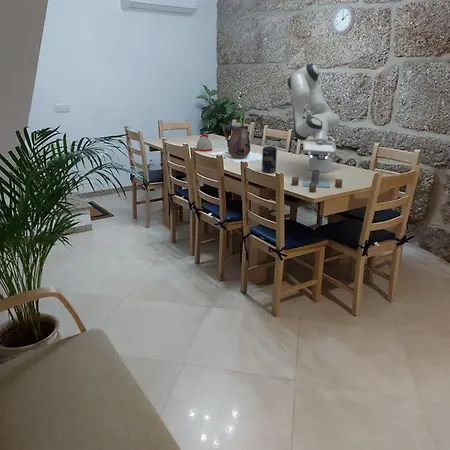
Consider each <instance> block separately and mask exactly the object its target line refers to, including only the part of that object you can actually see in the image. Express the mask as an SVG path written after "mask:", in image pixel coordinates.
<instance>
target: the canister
mask: <svg viewBox="0 0 450 450" xmlns="http://www.w3.org/2000/svg"><path fill="white" fill-rule="evenodd" d="M277 152H278V150H277V147H275V146H271V145H269V146H265V147H264V146H263V147H262V159H261V161H262V162H261V171H262V172H263V173H266V174H267V173H268V174H272V173H275V172H276V170H277Z"/></svg>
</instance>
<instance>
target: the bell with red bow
mask: <svg viewBox="0 0 450 450" xmlns="http://www.w3.org/2000/svg"><path fill="white" fill-rule="evenodd" d="M200 134H201V135H199V137H200V138H199V139H198V141H197V143H196V149H195V150H196V152H206V153H207V152H211V151H213V146H212V141H211V140H210V139H209V135H210V134H208V133H205V132H202V133H200Z"/></svg>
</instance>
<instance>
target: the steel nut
mask: <svg viewBox="0 0 450 450" xmlns="http://www.w3.org/2000/svg"><path fill="white" fill-rule="evenodd" d="M320 173H321V172H320V171H319V170H312V171H311V180H310V181H311V183H315V184H319V182H320Z"/></svg>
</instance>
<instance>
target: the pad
mask: <svg viewBox="0 0 450 450" xmlns="http://www.w3.org/2000/svg"><path fill="white" fill-rule="evenodd" d="M310 183H311V180H302V185H303V187H305V188H306V187H307V188H309V184H310ZM316 188H324V189H325V188H327V189H330V188H331V185H330V182H329V181H319V184H316Z"/></svg>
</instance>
